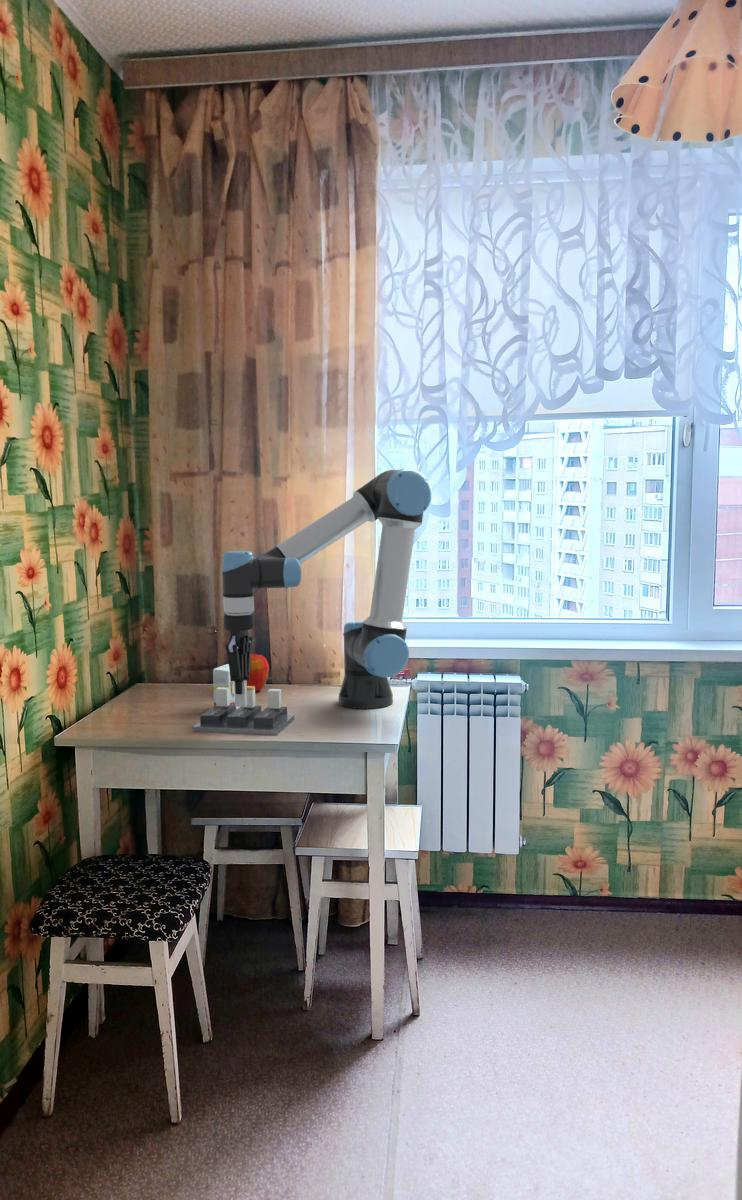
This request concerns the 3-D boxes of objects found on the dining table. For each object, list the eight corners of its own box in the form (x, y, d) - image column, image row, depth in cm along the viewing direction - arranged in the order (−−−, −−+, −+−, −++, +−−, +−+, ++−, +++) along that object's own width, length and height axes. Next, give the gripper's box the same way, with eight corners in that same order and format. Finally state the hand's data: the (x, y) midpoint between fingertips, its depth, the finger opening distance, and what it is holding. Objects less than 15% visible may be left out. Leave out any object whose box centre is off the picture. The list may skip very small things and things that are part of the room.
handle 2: (281, 706, 235) (281, 689, 234) (279, 708, 233) (278, 691, 232) (270, 706, 235) (269, 688, 235) (268, 707, 233) (267, 690, 233)
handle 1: (229, 704, 237) (229, 687, 237) (227, 706, 236) (226, 689, 235) (219, 704, 238) (218, 687, 238) (216, 706, 236) (215, 688, 236)
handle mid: (255, 705, 236) (254, 686, 235) (253, 707, 234) (252, 687, 233) (244, 705, 237) (243, 685, 236) (241, 707, 235) (241, 687, 234)
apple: (233, 694, 268) (232, 653, 266) (243, 687, 276) (242, 648, 275) (264, 695, 266) (263, 654, 264) (273, 688, 275) (272, 649, 273)
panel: (294, 719, 238) (294, 705, 237) (277, 734, 223) (276, 719, 223) (214, 716, 242) (214, 702, 242) (192, 731, 227) (192, 716, 227)
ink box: (229, 714, 244) (228, 670, 243) (213, 712, 246) (211, 669, 244) (244, 706, 252) (242, 664, 251) (228, 705, 254) (226, 663, 253)
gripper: (233, 609, 235) (236, 699, 238) (214, 616, 222) (217, 711, 225) (261, 610, 233) (263, 700, 236) (243, 617, 220) (246, 712, 223)
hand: (241, 705), depth 230 cm, fingers closed
